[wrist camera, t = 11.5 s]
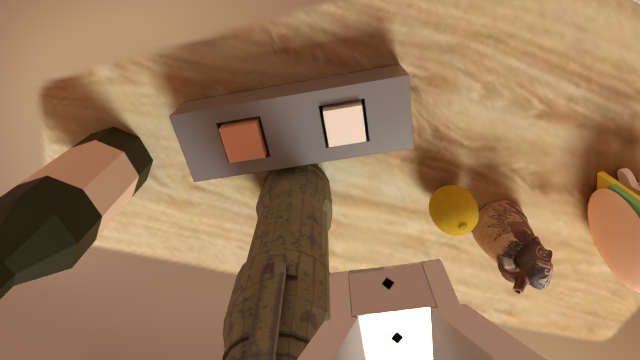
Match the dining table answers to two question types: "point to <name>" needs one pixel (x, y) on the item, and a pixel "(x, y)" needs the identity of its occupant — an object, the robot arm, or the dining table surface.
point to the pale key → (344, 123)
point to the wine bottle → (68, 205)
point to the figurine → (513, 246)
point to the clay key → (244, 139)
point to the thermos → (283, 270)
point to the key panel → (297, 122)
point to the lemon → (453, 210)
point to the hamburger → (617, 224)
